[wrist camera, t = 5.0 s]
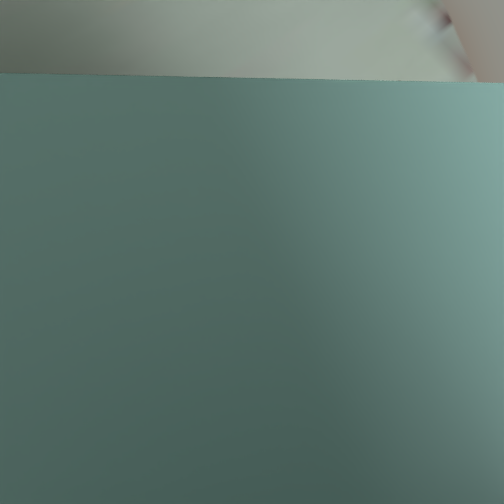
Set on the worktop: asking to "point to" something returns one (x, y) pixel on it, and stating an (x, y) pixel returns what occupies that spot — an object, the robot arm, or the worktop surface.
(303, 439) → the column
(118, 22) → the worktop surface
